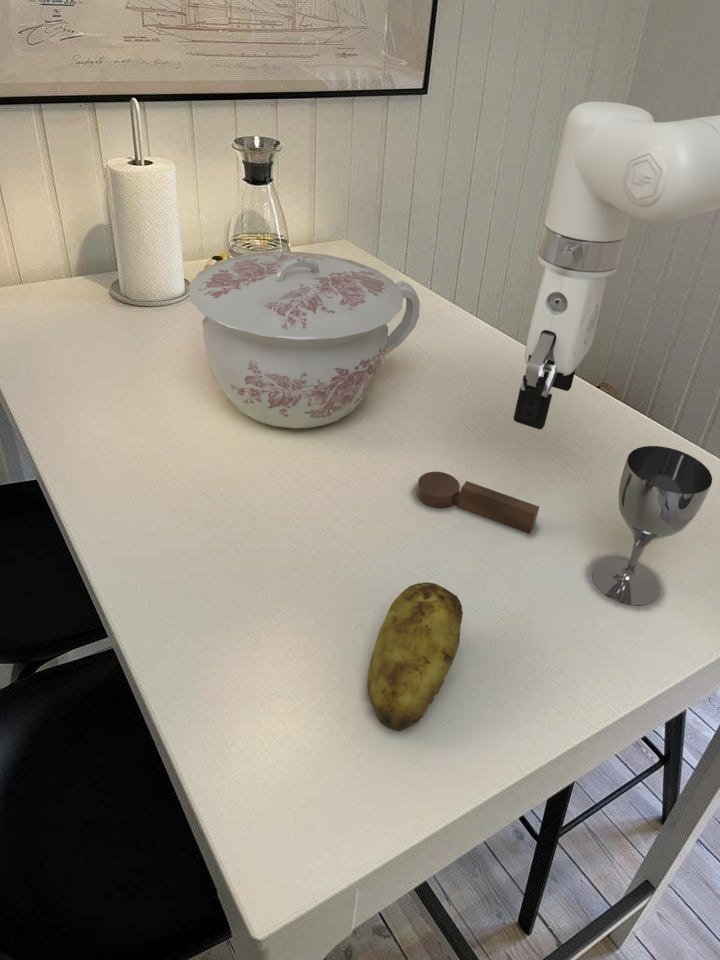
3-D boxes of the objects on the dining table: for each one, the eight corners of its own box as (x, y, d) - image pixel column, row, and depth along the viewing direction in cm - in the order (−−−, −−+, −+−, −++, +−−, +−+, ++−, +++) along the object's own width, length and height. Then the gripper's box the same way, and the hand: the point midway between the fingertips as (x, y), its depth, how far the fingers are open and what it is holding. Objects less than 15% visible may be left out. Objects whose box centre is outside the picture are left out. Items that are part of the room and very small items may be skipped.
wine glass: (663, 617, 77) (714, 502, 68) (585, 595, 79) (625, 481, 70) (663, 568, 83) (711, 457, 74) (591, 548, 85) (628, 438, 76)
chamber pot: (158, 428, 98) (142, 276, 86) (245, 342, 120) (242, 211, 107) (362, 478, 93) (377, 323, 80) (415, 379, 114) (433, 244, 102)
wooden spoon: (538, 518, 89) (543, 498, 87) (525, 542, 85) (531, 522, 83) (426, 478, 94) (429, 458, 92) (409, 499, 90) (412, 479, 88)
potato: (327, 699, 66) (331, 637, 61) (409, 617, 75) (419, 557, 70) (404, 753, 62) (415, 692, 58) (481, 660, 71) (497, 600, 66)
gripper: (596, 285, 64) (552, 453, 74) (639, 234, 76) (597, 383, 86) (512, 265, 66) (481, 429, 76) (567, 218, 79) (534, 365, 89)
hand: (542, 404), depth 81 cm, fingers open, 9 cm apart
